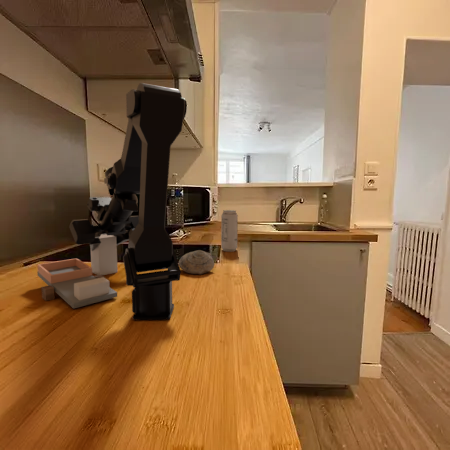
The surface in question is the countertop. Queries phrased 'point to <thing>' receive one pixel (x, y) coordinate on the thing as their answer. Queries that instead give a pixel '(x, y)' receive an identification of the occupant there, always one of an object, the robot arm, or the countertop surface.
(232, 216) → the energy drink can
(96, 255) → the grey block
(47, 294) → the pivot stand
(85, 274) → the board
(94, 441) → the countertop surface
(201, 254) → the fossilized seashell
